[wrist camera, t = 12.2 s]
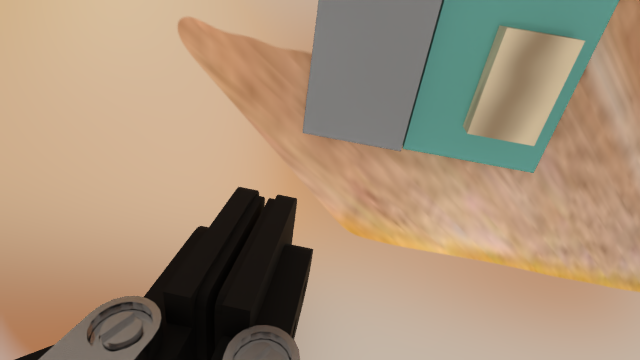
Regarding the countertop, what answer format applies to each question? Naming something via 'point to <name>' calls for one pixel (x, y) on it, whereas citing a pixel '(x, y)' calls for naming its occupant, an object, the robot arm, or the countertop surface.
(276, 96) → the countertop surface
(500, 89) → the tile
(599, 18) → the mat
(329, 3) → the board
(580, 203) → the countertop surface
